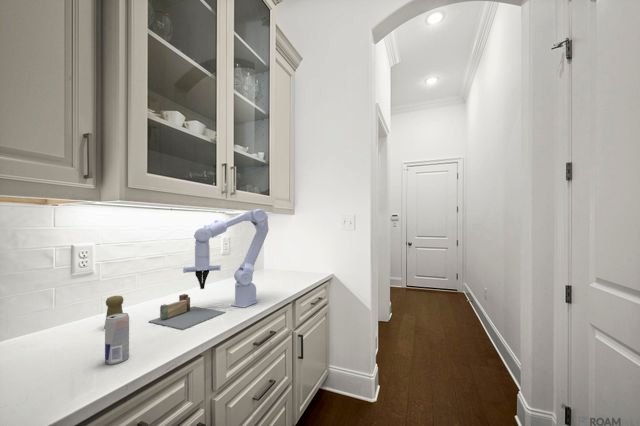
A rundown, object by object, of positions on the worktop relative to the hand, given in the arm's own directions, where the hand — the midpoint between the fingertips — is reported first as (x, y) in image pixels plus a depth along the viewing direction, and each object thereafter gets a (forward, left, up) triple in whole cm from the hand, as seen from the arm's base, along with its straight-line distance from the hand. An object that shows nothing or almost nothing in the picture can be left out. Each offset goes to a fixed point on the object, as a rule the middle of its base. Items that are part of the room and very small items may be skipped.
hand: (202, 288), depth 118 cm
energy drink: (+40, +13, -10) cm, 43 cm away
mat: (+8, +2, -9) cm, 12 cm away
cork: (+26, -15, -10) cm, 32 cm away
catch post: (+14, -6, -9) cm, 17 cm away
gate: (+9, -4, -9) cm, 13 cm away
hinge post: (+4, -6, -9) cm, 12 cm away
